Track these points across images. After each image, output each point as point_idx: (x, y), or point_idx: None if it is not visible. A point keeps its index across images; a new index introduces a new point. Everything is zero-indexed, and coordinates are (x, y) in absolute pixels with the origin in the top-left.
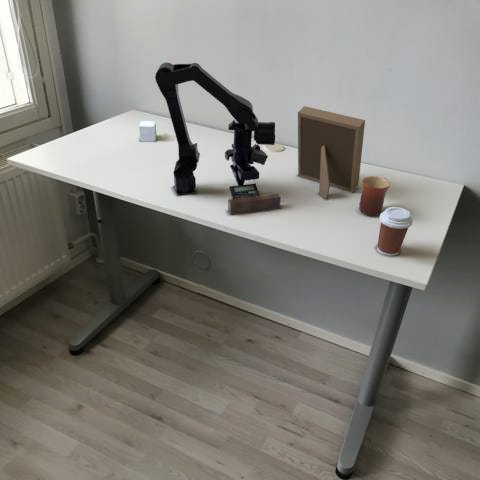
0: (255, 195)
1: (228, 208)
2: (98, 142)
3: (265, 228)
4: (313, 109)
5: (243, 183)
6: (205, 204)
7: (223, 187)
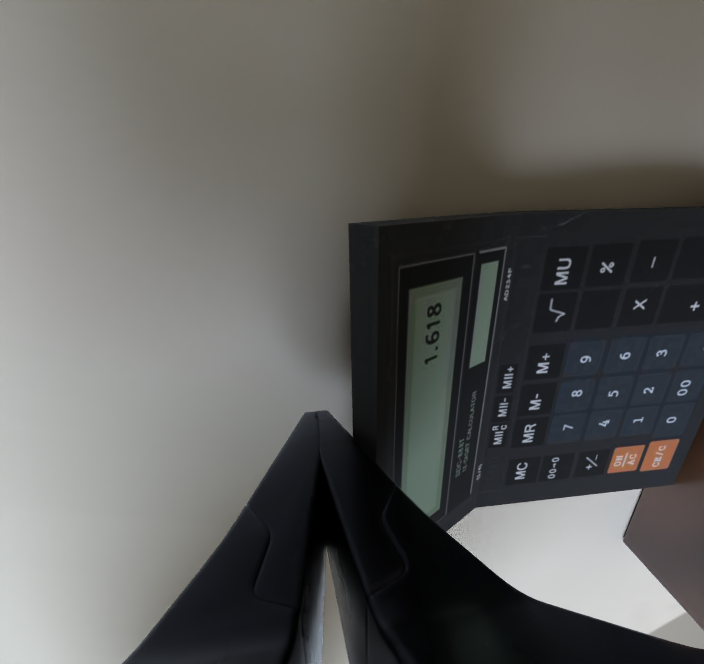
0: (541, 282)
1: (655, 567)
2: None
3: None
4: None
5: (361, 451)
6: None
7: (186, 526)
